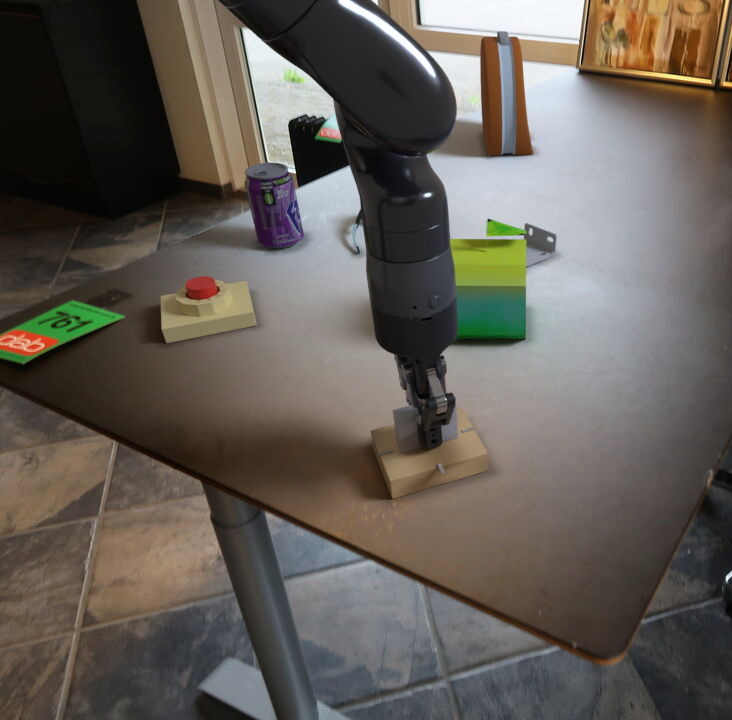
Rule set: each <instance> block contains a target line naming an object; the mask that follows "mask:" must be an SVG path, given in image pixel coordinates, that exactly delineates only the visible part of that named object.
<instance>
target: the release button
mask: <svg viewBox="0 0 732 720" xmlns="http://www.w3.org/2000/svg"><path fill="white" fill-rule="evenodd" d="M215 280H216V279H215V277H214V278H213V277H212V276H206V275H202V276H196V277H192V278H191V279H188V280H187V281H186V282H185V284H184V286H185V287H186V290H187V294H188V297H189V298H190V299H191V300H203V299H208V298H210V297H213V296H215V295H216V294H217V293H218V290H217V286H216V283H215Z"/></svg>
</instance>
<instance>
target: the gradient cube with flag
mask: <svg viewBox="0 0 732 720" xmlns="http://www.w3.org/2000/svg"><path fill="white" fill-rule="evenodd" d="M485 227H486V228H485V232H486V234H485V235H486V237H511V236H512V237H514V236H515V237H516V236H517V237H518V236H519V237H520V236H524V235H526V230H524V229H522V228H519V227H516V226H513V225H510V224H507V223H504V222H501V221H498V220H494V219H491V218H487V219H486V220H485ZM526 242H527V241H526V239H524V238H523V239H522V238H521V239H520V238H519V239H516V238H515V239H514V238H512V239H511V238H510V239H509V238H497V239H496V238H450V244H451V251H452V255H453V260H454V265H455V278H456V295H457V312H458V335H457V337H456V339H457V340H458V339H461V340H463V339H464V340H466V339H467V340H481V339H482V340H526V337H527V336H526V335H527V333H526V332H527V331H526V329H527V328H526V327H527V326H526V325H527V267H526ZM456 339H455V340H456Z"/></svg>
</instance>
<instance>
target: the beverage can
mask: <svg viewBox="0 0 732 720" xmlns="http://www.w3.org/2000/svg"><path fill="white" fill-rule="evenodd" d="M244 173H245V180H244V188H245V193H246V196H247V201H248V204H249V209H250V213H251V217H252V221H253V226H254V231H255V235H256V238H257V242H258V243H259V244H260V245H261V246H264V247H267V248H270V249H286V248H289V247H292V246H294V245H296V244H297V243H299V242H301V241H302V240H303V239H304V237H305V234H304V228H303V223H302V218H301V212H300V207H299V202H298V197H297V192H296V186H295V182H294V178H293V176H292V175H291V173H290V171H289V168H288V166H287V165H286V164H284V163H280V162H262V163H257V164H254V165H251V166H249V167H247V168H246V169H245V171H244Z"/></svg>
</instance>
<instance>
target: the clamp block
mask: <svg viewBox="0 0 732 720" xmlns="http://www.w3.org/2000/svg"><path fill="white" fill-rule="evenodd" d="M456 410H457V426H458V438H455V439H452V440H448V441H445V442H442V445H441V446H439V447H436V448H432V449H429V450H422V448H421V449H417V450H414V451H410V452H407V453H403V454H401V452H400V449H399V447H398V445H397V439H396V432H395V424H390V425H387V426H383V427H377V428H375V429H374V428H373V429H371V430H370V437H371V444H372V449H373V451H374V454H375V457H376V459H377V460H376V461H377V462H378V464H379V467H380V470H381V473H382V476H383V478H384V480H385V484H386V486H387V489H388V491H389V494H390V496H391V499H392V500H394V499H398V498H401V497H405V496H409V495H411V494H414V493H417V492H422V491H425V490H428V489H431V488H435V487H438V486H442V485H445V484H448V483H451V482H453V481H454V482H455V481H458V480H462V479H465V478H468V477H471V476H475V475H478V474H482V473H485V472H488V471H489V456H488V454H489V453H488V451H487V449H486V448H485V446H484V444H483V442H482V441H481V439H480V437H479V435H478V434H477V431H476V426H473V425H472V422H471V421H470V419H469V417H468V416H467V413H466V412H465V410H464V409H463V406H459V407H456Z"/></svg>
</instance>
